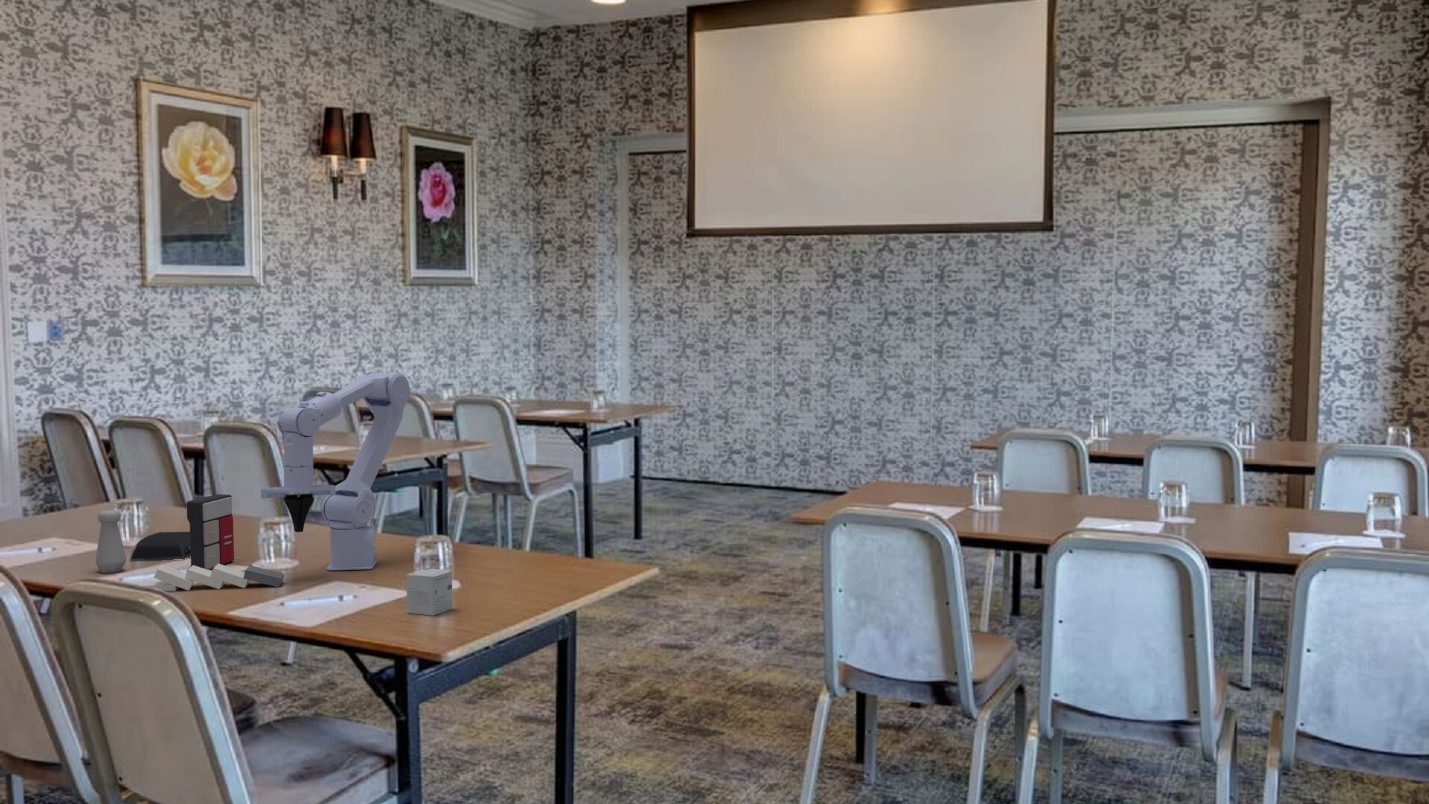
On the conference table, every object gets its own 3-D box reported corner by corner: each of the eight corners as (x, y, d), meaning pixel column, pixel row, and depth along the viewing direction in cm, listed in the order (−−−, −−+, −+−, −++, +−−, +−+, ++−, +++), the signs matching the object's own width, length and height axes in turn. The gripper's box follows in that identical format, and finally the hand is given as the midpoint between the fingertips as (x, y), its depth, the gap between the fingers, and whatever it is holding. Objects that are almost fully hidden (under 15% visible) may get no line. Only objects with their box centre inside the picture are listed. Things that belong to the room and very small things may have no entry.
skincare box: (433, 616, 220) (433, 576, 220) (406, 613, 222) (405, 573, 222) (453, 609, 226) (452, 570, 225) (426, 605, 228) (425, 567, 228)
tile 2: (252, 575, 246) (218, 563, 245) (248, 580, 242) (213, 568, 240) (249, 583, 246) (215, 571, 245) (244, 588, 242) (210, 576, 240)
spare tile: (284, 574, 247) (250, 565, 246) (281, 578, 243) (245, 569, 241) (282, 582, 247) (247, 573, 246) (278, 587, 243) (243, 578, 242)
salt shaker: (132, 570, 258) (130, 509, 257) (109, 575, 253) (107, 513, 252) (113, 567, 261) (111, 507, 260) (89, 572, 256) (87, 511, 255)
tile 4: (196, 577, 244) (161, 564, 242) (192, 582, 239) (157, 569, 238) (192, 585, 244) (158, 572, 242) (188, 590, 239) (153, 577, 238)
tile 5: (181, 580, 244) (143, 581, 242) (175, 584, 239) (137, 586, 238) (181, 588, 244) (144, 590, 242) (175, 593, 239) (137, 595, 238)
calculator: (206, 572, 256) (204, 502, 255) (188, 571, 257) (186, 501, 256) (236, 561, 267) (234, 494, 266) (219, 561, 268) (217, 493, 267)
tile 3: (227, 576, 245) (193, 565, 244) (222, 580, 241) (187, 569, 240) (224, 584, 245) (190, 573, 244) (219, 589, 241) (184, 578, 240)
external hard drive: (125, 563, 267) (124, 545, 267) (153, 547, 286) (153, 530, 286) (187, 562, 269) (186, 544, 269) (211, 545, 288) (211, 528, 288)
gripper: (329, 462, 256) (329, 526, 257) (257, 465, 249) (258, 530, 249) (338, 465, 250) (338, 531, 251) (264, 468, 243) (264, 535, 243)
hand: (298, 531), depth 250 cm, fingers closed
